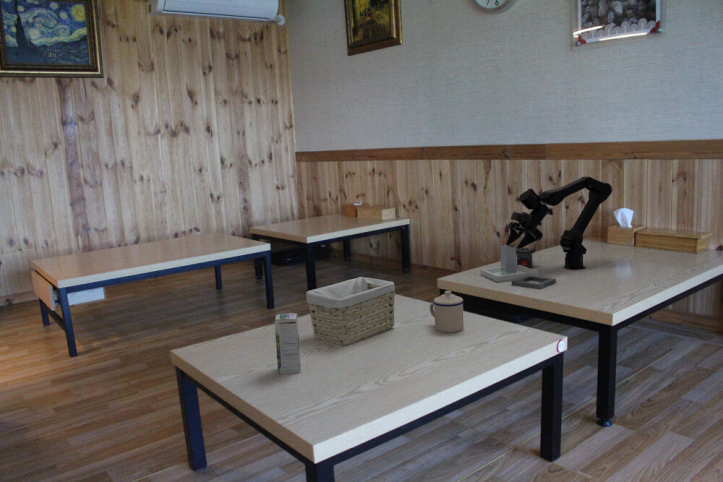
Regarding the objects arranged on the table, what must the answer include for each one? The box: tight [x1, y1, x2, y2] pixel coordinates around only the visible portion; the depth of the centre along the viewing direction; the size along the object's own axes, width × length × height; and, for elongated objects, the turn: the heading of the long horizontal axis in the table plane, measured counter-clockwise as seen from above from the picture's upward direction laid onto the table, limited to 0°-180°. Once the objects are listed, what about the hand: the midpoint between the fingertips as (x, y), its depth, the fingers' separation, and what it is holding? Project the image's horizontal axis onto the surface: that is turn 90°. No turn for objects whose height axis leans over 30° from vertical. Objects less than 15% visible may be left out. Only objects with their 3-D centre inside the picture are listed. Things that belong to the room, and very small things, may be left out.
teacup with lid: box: [429, 290, 465, 334], centre depth 183 cm, size 12×9×12 cm
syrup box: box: [274, 312, 302, 375], centre depth 156 cm, size 6×6×14 cm
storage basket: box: [305, 276, 396, 346], centre depth 184 cm, size 24×16×15 cm
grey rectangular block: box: [499, 244, 517, 275], centre depth 245 cm, size 4×4×12 cm
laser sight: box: [512, 243, 537, 269], centre depth 264 cm, size 10×22×10 cm, turn 164°
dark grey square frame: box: [511, 275, 557, 290], centre depth 231 cm, size 12×12×2 cm
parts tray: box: [479, 264, 539, 283], centre depth 246 cm, size 18×15×2 cm
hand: (512, 246), depth 244 cm, fingers open, 9 cm apart
